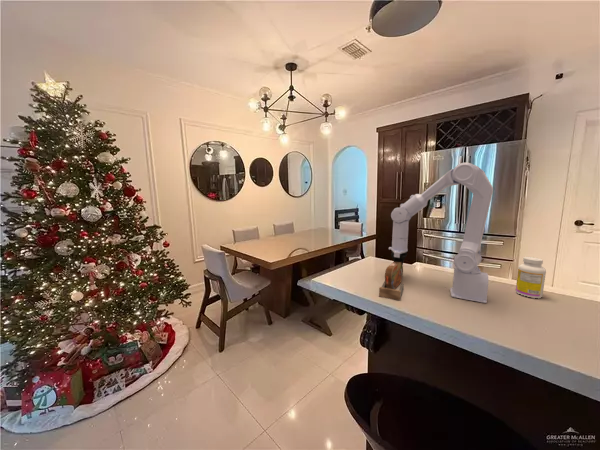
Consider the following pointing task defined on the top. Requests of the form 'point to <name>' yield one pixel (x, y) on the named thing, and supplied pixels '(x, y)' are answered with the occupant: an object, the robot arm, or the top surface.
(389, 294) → the dock
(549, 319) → the top surface
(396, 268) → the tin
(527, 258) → the supplement bottle
